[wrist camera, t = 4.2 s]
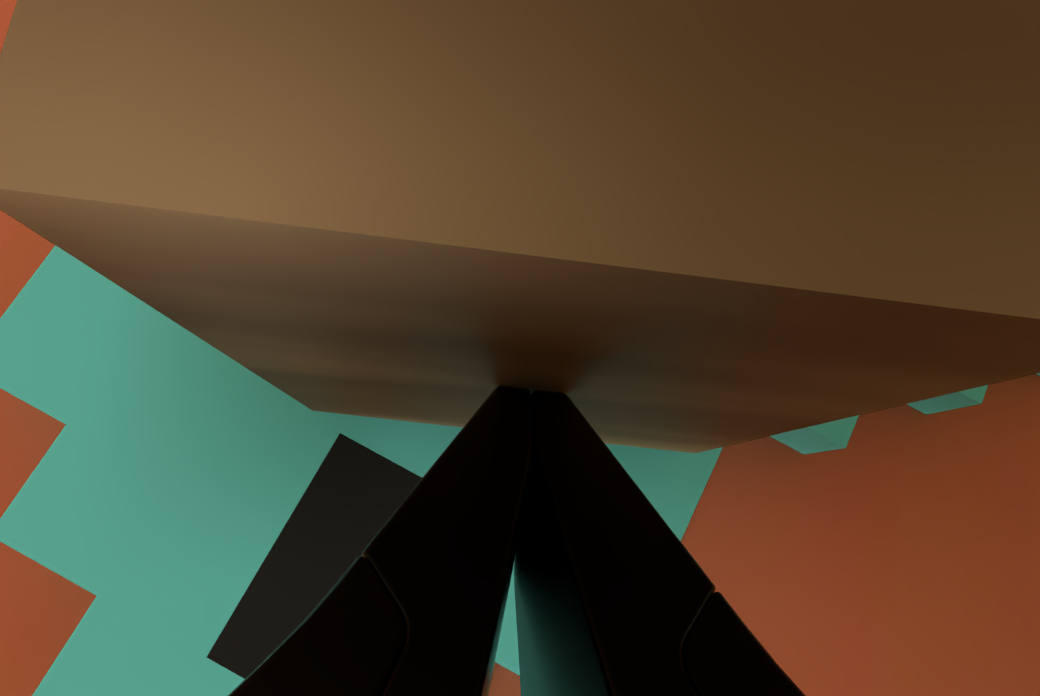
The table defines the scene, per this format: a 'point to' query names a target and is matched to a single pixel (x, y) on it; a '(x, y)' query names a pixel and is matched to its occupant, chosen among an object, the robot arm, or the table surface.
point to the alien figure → (223, 489)
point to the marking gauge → (552, 197)
